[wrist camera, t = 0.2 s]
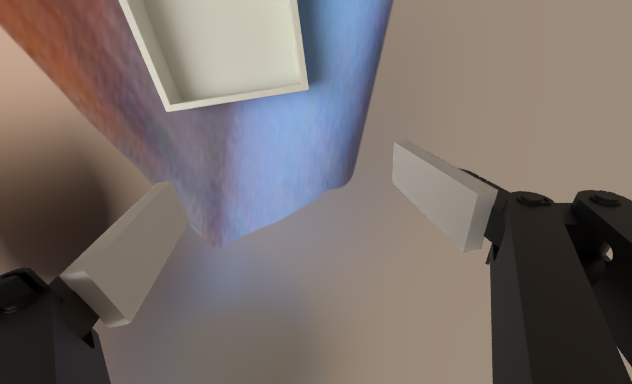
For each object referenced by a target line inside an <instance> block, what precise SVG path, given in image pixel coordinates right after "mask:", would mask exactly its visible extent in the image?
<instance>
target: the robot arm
mask: <svg viewBox="0 0 632 384" xmlns="http://www.w3.org/2000/svg"><path fill="white" fill-rule="evenodd" d="M392 182H393V183H394V184H395V185H396V186H397V187H398V188H399V189H400V190H401V191H402V192H403V193H404V194H405V195H406V196H407V197H408V198H409V199H410V200H411V201H412V202H413V203H414V204H415V205H416V206H417V207H418V208H419V209H420V210H421V211H422V212H423V213H424V214H425V215H426V216H427V217H428V218H429V219H430V220H431V221H432V222H433V223H434V224H435V225H436V226H437V227H438V228H439V229H440V230H441V231H442V232H443V233H444V234H445V235H446V236H447V237H448V238H449V239H450V240H452V241H453V242H454V243H455V244H456V245H457V246H458V247H459V248H460V249H461V250H462V251H463V252H467V251H471V250H476V249H481V247H482V243H483V240H484V237H486V238H487V239H488V240H489V241H491V242H492V245H491V248H490V251H489V254H488V257H487V261H486V264H489V263H490V279H491V318H492V319H491V323H492V366H493V367H492V368H493V384H632V381H631V379H630V377H629V374H628V372H627V370H626V367H625V365H624V363H623V361H622V358H621V356H620V353H619V351H618V349H619V350H620V351H621V353H622V354H623V355H624V357H625V358H626V360H627V361H628V362H629V364H630V365H631V366H632V201H631V200H629V199H627V198H625V197H623V196H619V195H617V194H615V193H612V192H606V191H601V190H600V191H594V190H586V191H581V192H578V193H577V195H576V197H575V199H574V201H573V203H554V202H553V200H551V199H549V198H548V197H546V196H543V195H540V194H537V193H532V192H522V191H518V192H512V193H510V192H508V191H506V190H504V189H502V188H500V187H499V186H497V185H495V184H493V183H491V182H489V181H486V179H484V178H482V177H479V176H478V175H476V174H474V173H472V172H470V171H467V170H464V169H460V168H456V167H455V166H453V165H451V164H449V163H447V162H446V161H444V160H442V159H440V158H439V157H437V156H435V155H433V154H431V153H429V152H428V151H426V150H424V149H422V148H420V147H419V146H417V145H415V144H413V143H411V142H409V141H408V140H402V141H396V142H394V155H393V180H392ZM189 221H190V219H189V217H188V215H187V213H186V211H185V209H184V207H183V205H182V203H181V201H180V199H179V197H178V195H177V193H176V191H175V189H174V187H173V184H172V182H171V181H166V182H160V183H156V184H155V185H154V186H153V187H152V188H151V189H150V190H149V191H148V192H147V193H146V194H145V195H144V196H143V197H142V198H141V199H139V200H138V201H137V202H136V203H135V204H134V205H133V206H132V207H131V208H130V209H129V210H128V211H127V212H126V213H125V214H124V215H123V216H121V217H120V218H119V219H118V220H117V221H116V222H115V223H114V224H113V225H112V226H111V227H110V228H109V229H108V230H107V231H106V232H105V233H104V234H103V235H101V236H100V237H99V238H98V239H97V240H96V241H95V242H94V243H92V244H91V245H90V246H89V247H88V248H87V249H86V250H85V251H84V252H83V253H82V254H81V255H79V256H78V257H77V258H76V259H75V261H73V262H72V263H71V264H70V265H69V266H68V267H67V268H66V269H65V270H64V271H62V272H61V273H60V274H59V275H58V276H57V277H56V278H55V279H54V280H53V281H52V282H51V283H50V284H49V285H47V284H46V283H45V282H44V281H43V280H42V279H41V278H40V277H39V276H38V275H37V274H36V273H35V272H34V271H33V270H32V269H31V268H20V269H16V270H13V271H10V272H7V273H5V274H2V275H0V384H111V383H110V379H109V375H108V371H107V367H106V363H105V359H104V355H103V351H102V348H101V343H100V340H99V335H98V333H97V332H96V331H95V330H94V329H93V328H92V327H93V326H94V324H95V323H96V322H97V320H98V319H99V318H100V319H101V320H102V321H103V322H104V323H105V324H106V325H107V326H108V327H115V326H119V325H124V324H129V323H131V321H132V320H133V318H134V316H135V314H136V313H137V311H138V309H139V308H140V306H141V304H142V302H143V301H144V299H145V297H146V295H147V294H148V292H149V290H150V288H151V287H152V285H153V283H154V281H155V280H156V278H157V276H158V275H159V272H160V271H161V269H162V268H163V266H164V264H165V262H166V261H167V259H168V257H169V255H170V253H171V252H172V250H173V249H174V247H175V245H176V243H177V242H178V240H179V238H180V236H181V235H182V233H183V231H184V230H185V228H186V226H187V224H188V223H189ZM610 247H611V249H612V251H613V258H612V260H610V258H609V257H608V256H607V255H606V253H607V252H608V250H609V249H610ZM617 347H618V349H617Z"/></svg>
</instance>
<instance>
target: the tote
mask: <svg viewBox="0 0 632 384" xmlns="http://www.w3.org/2000/svg"><path fill="white" fill-rule="evenodd" d="M119 2H120V4H121V7H122V9H123V11H124V14H125V16H126V18H127V21H128V23H129V25H130V28H131V30H132V32H133V35H134V37H135V39H136V42H137V44H138V46H139V49H140V51H141V53H142V56H143V58H144V60H145V63H146V65H147V67H148V70H149V72H150V74H151V77H152V79H153V81H154V84H155V86H156V88H157V91H158V93H159V95H160V98H161V100H162V102H163V105H164V107H165V109H166V112H170V111H177V110H183V109H190V108H196V107H202V106H209V105H215V104H222V103H228V102H234V101H241V100H247V99H253V98H260V97H266V96H273V95H279V94H285V93H292V92H298V91H305V90H309V87H308V79H307V72H306V64H305V57H304V49H303V42H302V34H301V27H300V19H299V12H298V4H297V0H119Z"/></svg>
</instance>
